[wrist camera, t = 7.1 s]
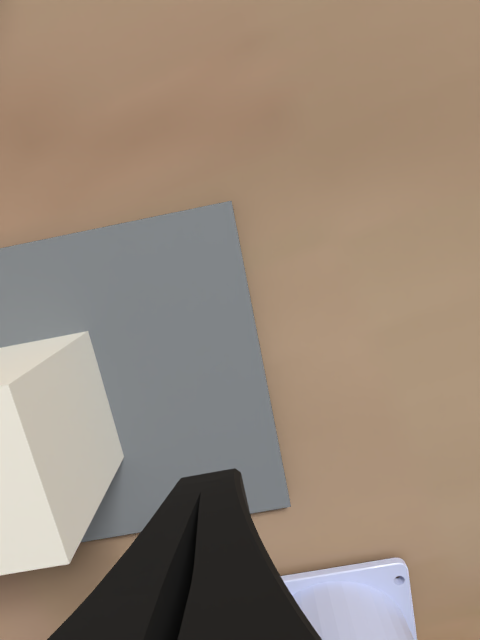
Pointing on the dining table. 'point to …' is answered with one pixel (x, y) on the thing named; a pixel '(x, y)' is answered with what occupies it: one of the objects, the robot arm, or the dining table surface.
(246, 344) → the mat
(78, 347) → the cube
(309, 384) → the dining table surface
